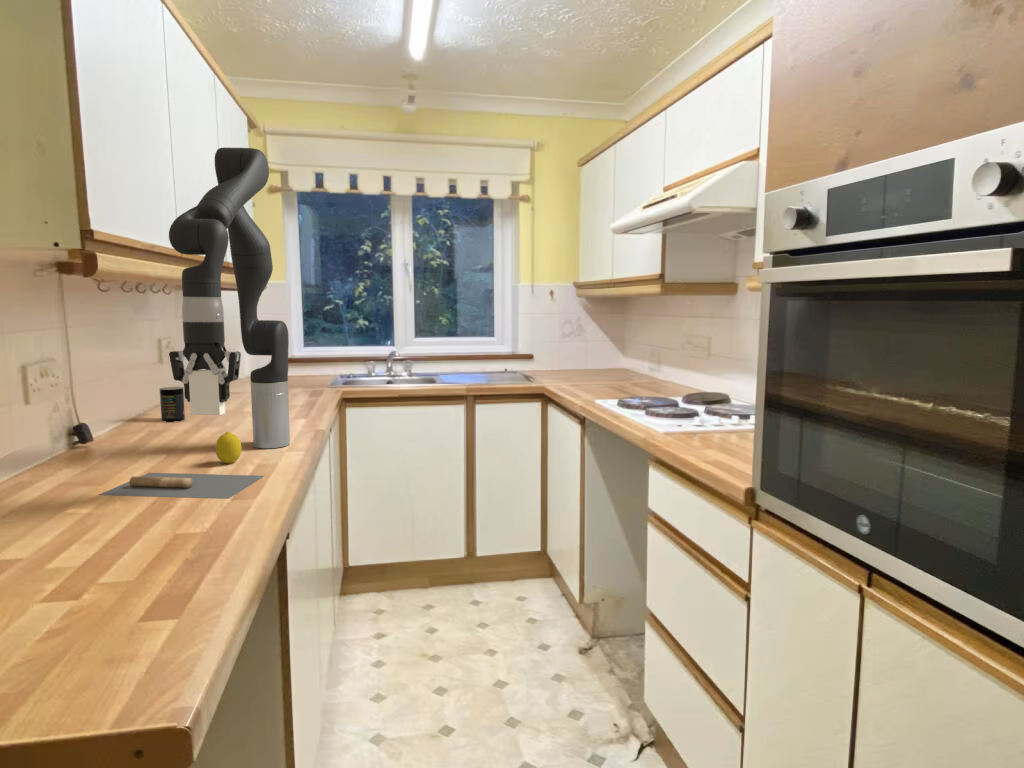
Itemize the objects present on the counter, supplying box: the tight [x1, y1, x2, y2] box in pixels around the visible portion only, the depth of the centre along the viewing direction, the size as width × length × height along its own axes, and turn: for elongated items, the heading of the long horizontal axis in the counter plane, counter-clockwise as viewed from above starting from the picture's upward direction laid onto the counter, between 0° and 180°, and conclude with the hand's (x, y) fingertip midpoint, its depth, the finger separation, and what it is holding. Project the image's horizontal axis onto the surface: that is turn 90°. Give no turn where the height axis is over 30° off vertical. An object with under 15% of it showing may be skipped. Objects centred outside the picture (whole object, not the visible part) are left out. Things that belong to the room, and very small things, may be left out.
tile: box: [189, 369, 227, 416], centre depth 129 cm, size 2×6×9 cm, turn 88°
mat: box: [98, 472, 265, 500], centre depth 130 cm, size 16×26×1 cm, turn 87°
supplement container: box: [159, 386, 186, 423], centre depth 199 cm, size 7×7×10 cm
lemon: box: [215, 431, 243, 465], centre depth 147 cm, size 6×6×8 cm
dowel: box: [129, 476, 193, 488], centre depth 128 cm, size 2×12×2 cm, turn 87°
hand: (207, 401), depth 129 cm, fingers closed on tile, 6 cm apart
